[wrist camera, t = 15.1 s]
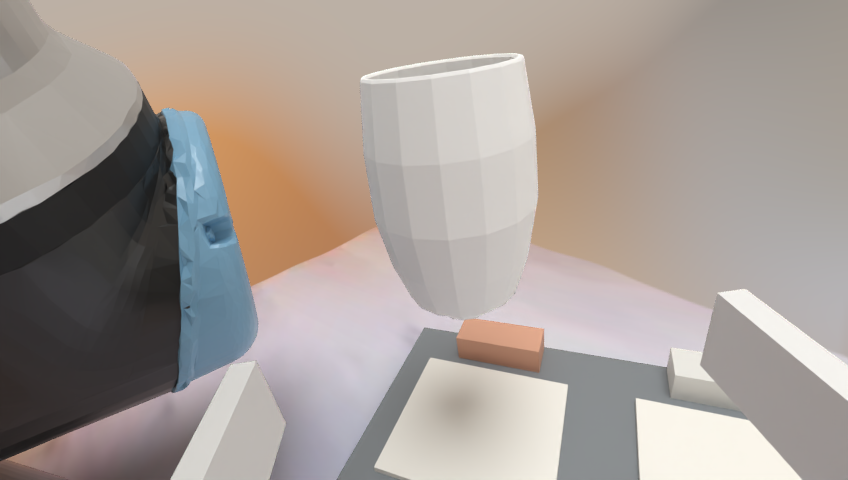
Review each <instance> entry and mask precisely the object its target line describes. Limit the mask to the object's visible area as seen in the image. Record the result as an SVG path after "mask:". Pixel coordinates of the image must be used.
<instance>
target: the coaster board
mask: <svg viewBox="0 0 848 480" xmlns="http://www.w3.org/2000/svg"><path fill="white" fill-rule="evenodd" d="M702 354H703V352H698V351H691V350H684V349H678V348H671V349H670V355H669V360H668V365H667V367H661V366H655V365H649V364H643V363H637V362H631V361H624V360H618V359H612V358H606V357H600V356H594V355H588V354H582V353H576V352H570V351H564V350H558V349H552V348H546V347H544V329H541V328H534V327H528V326H521V325H514V324H507V323H500V322H494V321H487V320H480V319H468V320H464V322H463V324H462V327H461V329H460V331H459V333H455V332H449V331H442V330H436V329H430V328H424V329H423V331H422V333H421V334H420V336H419V338H418V340H417V341H416V343H415V345H414V347H413V348H412V350H411V352H410V354H409V355H408V357H407V359H406V360H405V362H404V364H403V366H402V367H401V369H400V371H399V373H398V374H397V376H396V378H395V380H394V381H393V383H392V385H391V387H390V388H389V390H388V392H387V393H386V395H385V397H384V399H383V400H382V402H381V404H380V406H379V407H378V409H377V411H376V413H375V414H374V416H373V418H372V419H371V421H370V423H369V425H368V426H367V428H366V430H365V432H364V433H363V435H362V437H361V439H360V440H359V442H358V444H357V445H356V447H355V449H354V451H353V452H352V454H351V456H350V458H349V459H348V461H347V463H346V465H345V466H344V468H343V470H342V471H341V473H340V475H339V477H338V478H337V480H802V479H801V478H800V477H799V475H798V474H797V473H796V472H795V471H794V470H793V469H792V468H791V467H790V465H789V464H788V463H787V462H786V461H785V460H784V459H783V458H782V456H781V455H780V454H779V453H778V452H777V451H776V450H775V449H774V447H773V446H772V445H771V444H770V443H769V442H768V441H767V440H766V439H765V437H764V436H763V435H762V434H761V433H760V432H759V431H758V430H757V428H756V427H755V426H754V425H753V424H752V423H751V422H750V421H749V419H748V418H747V417H746V416H745V415H744V414H743V413H742V412H741V410H740V409H739V408H738V407H737V406H736V405H735V404H734V403H733V402H732V400H731V399H730V398H729V397H728V396H727V395H726V394H725V393H724V391H723V390H722V389H721V388H720V387H719V386H718V385H717V384H716V382H715V381H714V380H713V379H712V378H711V377H710V376H709V375H708V374H707V372H706V371H705V370H704V369H703V368H702V367H701V366H700V363H701V359H702Z"/></svg>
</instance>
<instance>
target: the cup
mask: <svg viewBox="0 0 848 480" xmlns="http://www.w3.org/2000/svg"><path fill="white" fill-rule="evenodd" d="M360 94H361V112H362V130H363V148H364V159H365V164H366V171H367V176H368V182H369V188H370V194H371V200H372V206H373V212H374V217H375V221H376V224H377V226H378V229H379V232H380V234H381V237H382V239H383V242H384V244H385V247H386V249H387V252H388V254H389V257H390V260H391V262H392V265H393V267H394V268H395V270H396V272H397V273H398V275H399V277H400V278H401V280H402V282H403V283H404V285H405V287H406V288H407V290H408V292H409V293H410V295H411V297H412V298H413V299H414V300H415V301H416V303H417V304H418V305H419V306H420V307H421V308H423V309H425V310H427V311H429V312H432V313H434V314H436V315H440V316H447V317H450V318H452V319H458V320H468V319H475V318H477V317H479V316H482V315H484V314H485V313H488V312H490V311H492V310H494V309H496V308H499V307H501V306H503V305H504V304H505V303H506V302H507V301H508V300H509V299H510V298H511V297H512V296H513V295H514V294H515V292H516V289H517V286H518V283H519V281H520V278H521V275H522V272H523V269H524V267H525V264H526V261H527V257H528V252H529V247H530V241H531V235H532V228H533V223H534V217H535V211H536V205H537V199H538V178H537V152H536V128H535V122H534V116H533V110H532V104H531V97H530V92H529V85H528V79H527V73H526V66H525V60H524V56H523V55H521V54H515V53H508V54H488V55H477V56H468V57H460V58H452V59H444V60H438V61H431V62H424V63H418V64H413V65H407V66H402V67H396V68H392V69H387V70H383V71H378V72H374V73H371V74H369V75H365V76H363V77H362V78H361V80H360Z"/></svg>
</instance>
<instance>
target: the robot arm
mask: <svg viewBox="0 0 848 480" xmlns="http://www.w3.org/2000/svg"><path fill="white" fill-rule="evenodd" d="M257 332H258V317H257V312H256V307H255V303H254V299H253V295H252V291H251V287H250V283H249V279H248V275H247V272H246V268H245V264H244V260H243V257H242V253H241V250H240V247H239V242H238V239H237V236H236V233H235V230H234V227H233V220H232V217H231V214H230V211H229V207H228V203H227V197H226V194H225V190H224V186H223V183H222V179H221V175H220V172H219V169H218V165H217V162H216V158H215V155H214V151H213V148H212V145H211V141H210V138H209V135H208V132H207V129H206V126H205V123H204V121H203V119H202V118H201V117H200V116H199V115H198V114H196V113H194V112H191V111H177V110H175V109H170V110H169V108H166V109H162V112H160V113H158V114H157V115H156V114H155V113H154V112H153V110H152V108H151V106H150V105H149V103H148V101H147V99H146V97H145V95H144V93H143V91H142V89H141V87H140V85H139V83H138V81H137V80H136V78H135V77H134V75H133V74H132V73H131V71H130V70H129V69H128V68H127V67H126V65H125V64H124V63H123V62H121V61H119V60H118V59H116V58H114V57H112V56H111V55H108V54H106V53H104V52H102V51H100V50H97V49H95V48H93V47H91V46H88V45H86V44H84V43H82V42H79V41H77V40H75V39H73V38H70V37H68V36H66V35H64V34H62V33H60V32H57V31H56V30H54V29H53V28H52V27H50V26H49V25H47V24H46V23H45V22H44V21H43V20H42V19H41V18H40V17H39V15H38V14H37V12H36V10H35V9H34V7H33V6H32V4H31V3H30V1H29V0H0V480H67V479H65V478H63V477H60V476H56V475H53V474H50V473H47V472H44V471H40V470H37V469H34V468H31V467H28V466H25V465H21V464H18V463H15V462H12V461H9V460H5V459H7V458H9V457H12V456H14V455H17V454H19V453H21V452H24V451H26V450H28V449H31V448H33V447H36V446H38V445H40V444H43V443H45V442H48V441H50V440H52V439H55V438H57V437H60V436H62V435H65V434H67V433H69V432H72V431H74V430H77V429H79V428H82V427H84V426H87V425H89V424H92V423H94V422H97V421H99V420H102V419H104V418H107V417H109V416H112V415H114V414H117V413H119V412H121V411H124V410H126V409H129V408H131V407H134V406H136V405H139V404H141V403H144V402H146V401H149V400H151V399H154V398H156V397H159V396H161V395H164V394H166V393H168V392H172V393H175V392H178V391H181V390H183V389H185V388H186V387H187V386H188V385H189V383H190V382H191V381H193V380H195V379H197V378H199V377H201V376H204V375H206V374H208V373H210V372H212V371H214V370H216V369H218V368H220V367H223V366H225V365H227V364H229V363H231V362H233V361H235V360H237V359H238V358H240V357H241V356H243V355H244V354H245V353H246V352H247V351H248V350H249V348H250V347H251V346H252V344H253V342H254V340H255V338H256V336H257ZM700 366H701V367H702V368H703V369H704V370H705V371H706V372H707V374H708V375H709V376H710V377H711V378H712V379H713V380H714V381H715V382H716V384H717V385H718V386H719V387H720V388H721V389H722V390H723V391H724V393H725V394H726V395H727V396H728V397H729V398H730V399H731V400H732V402H733V403H734V404H735V405H736V406H737V407H738V408H739V409H740V410H741V412H742V413H743V414H744V415H745V416H746V417H747V418H748V419H749V421H750V422H751V423H752V424H753V425H754V426H755V427H756V428H757V430H758V431H759V432H760V433H761V434H762V435H763V436H764V437H765V439H766V440H767V441H768V442H769V443H770V444H771V445H772V446H773V447H774V449H775V450H776V451H777V452H778V453H779V454H780V455H781V456H782V458H783V459H784V460H785V461H786V462H787V463H788V464H789V465H790V467H791V468H792V469H793V470H794V471H795V472H796V473H797V474H798V475H799V477H800V478H801V479H802V480H848V365H846V364H845V363H844V362H842V361H841V360H840V359H838V358H837V357H836V356H834V355H833V354H832V353H830V352H829V351H828V350H826V349H825V348H824V347H822V346H821V345H820V344H818V343H817V342H816V341H814V340H813V339H812V338H810V337H809V336H808V335H806V334H805V333H803V332H802V331H801V330H800V329H798V328H797V327H795V326H794V325H793V324H792V323H790V322H789V321H788V320H786V319H785V318H784V317H782V316H781V315H779V314H778V313H777V312H776V311H774V310H773V309H771V308H770V307H769V306H767V305H766V304H765V303H763V302H762V301H761V300H759V299H758V298H757V297H755V296H754V295H753V294H751V293H750V292H749V291H747V290H746V289H741V290H734V291H728V292H720V293H717V297H716V300H715V305H714V309H713V313H712V317H711V321H710V325H709V329H708V334H707V338H706V342H705V346H704V350H703V354H702V359H701V363H700ZM285 426H286V422H285V420H284V418H283V416H282V414H281V411H280V409H279V407H278V405H277V403H276V401H275V399H274V397H273V394H272V392H271V390H270V388H269V386H268V384H267V382H266V380H265V377H264V375H263V373H262V371H261V369H260V367H259V365H258V363H257V361H250V362H244V363H237V364H231V365H230V367H229V368H228V370H227V372H226V374H225V376H224V378H223V380H222V382H221V384H220V386H219V388H218V389H217V391H216V393H215V395H214V397H213V399H212V401H211V403H210V405H209V407H208V409H207V410H206V412H205V414H204V416H203V418H202V420H201V422H200V424H199V426H198V428H197V430H196V431H195V433H194V435H193V437H192V439H191V441H190V443H189V445H188V447H187V449H186V451H185V452H184V454H183V456H182V458H181V460H180V462H179V464H178V466H177V468H176V470H175V472H174V473H173V475H172V477H171V479H170V480H269V479H270V476H271V473H272V469H273V466H274V463H275V459H276V456H277V453H278V449H279V446H280V443H281V439H282V436H283V433H284V430H285Z"/></svg>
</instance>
